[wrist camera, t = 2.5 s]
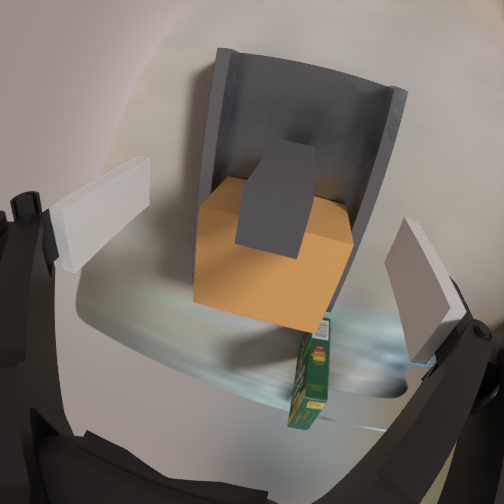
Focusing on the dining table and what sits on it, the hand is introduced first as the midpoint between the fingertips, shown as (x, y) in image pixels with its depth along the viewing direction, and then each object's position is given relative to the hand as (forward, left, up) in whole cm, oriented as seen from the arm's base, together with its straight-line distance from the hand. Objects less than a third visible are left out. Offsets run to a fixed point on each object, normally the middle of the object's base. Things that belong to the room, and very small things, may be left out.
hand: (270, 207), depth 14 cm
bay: (-4, +1, -16) cm, 16 cm away
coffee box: (-26, 0, -16) cm, 30 cm away
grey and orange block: (-6, +2, -14) cm, 16 cm away
